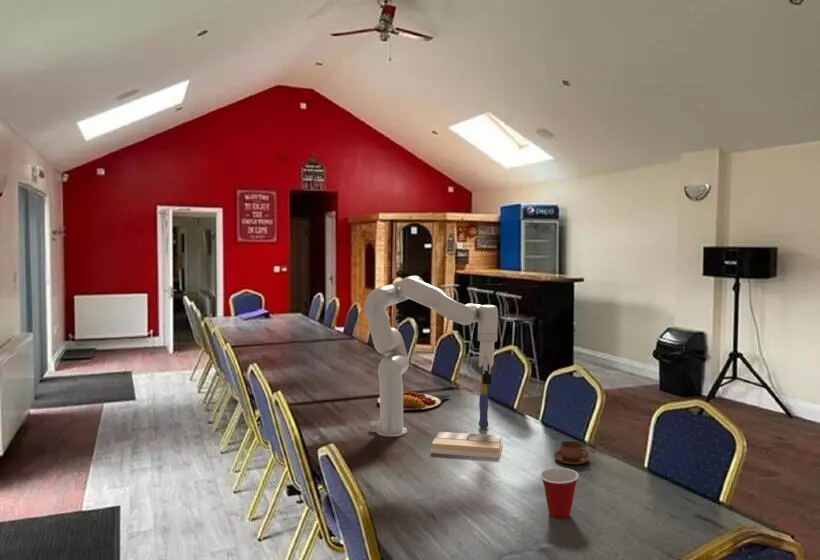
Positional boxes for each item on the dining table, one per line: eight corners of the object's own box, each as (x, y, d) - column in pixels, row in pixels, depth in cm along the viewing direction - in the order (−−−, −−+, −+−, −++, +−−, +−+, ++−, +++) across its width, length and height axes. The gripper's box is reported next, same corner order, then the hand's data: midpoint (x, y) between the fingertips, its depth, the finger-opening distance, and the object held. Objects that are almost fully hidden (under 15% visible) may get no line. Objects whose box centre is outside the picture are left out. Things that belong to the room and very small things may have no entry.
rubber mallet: (498, 432, 255) (498, 359, 253) (481, 433, 253) (481, 360, 251) (486, 423, 267) (486, 354, 265) (469, 424, 265) (470, 355, 263)
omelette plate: (456, 398, 308) (456, 384, 307) (419, 418, 279) (418, 403, 278) (403, 391, 325) (403, 378, 324) (363, 410, 295) (362, 395, 295)
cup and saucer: (589, 457, 225) (589, 440, 225) (587, 469, 214) (588, 451, 213) (555, 454, 229) (556, 437, 229) (552, 465, 218) (552, 447, 217)
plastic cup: (534, 507, 183) (535, 467, 182) (570, 505, 184) (571, 465, 183) (545, 523, 172) (546, 481, 171) (583, 522, 173) (584, 480, 172)
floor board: (431, 453, 230) (431, 443, 229) (438, 441, 243) (438, 432, 243) (499, 458, 224) (499, 448, 224) (502, 445, 238) (502, 436, 237)
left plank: (436, 442, 236) (436, 437, 236) (439, 436, 243) (439, 431, 243) (466, 444, 234) (466, 439, 233) (469, 438, 240) (469, 433, 240)
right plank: (468, 444, 234) (468, 439, 233) (470, 438, 240) (470, 433, 240) (499, 447, 231) (499, 442, 231) (501, 440, 238) (501, 435, 237)
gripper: (480, 333, 249) (479, 379, 250) (475, 339, 234) (474, 387, 236) (499, 334, 247) (498, 380, 248) (495, 340, 233) (494, 388, 234)
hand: (486, 383), depth 242 cm, fingers closed
